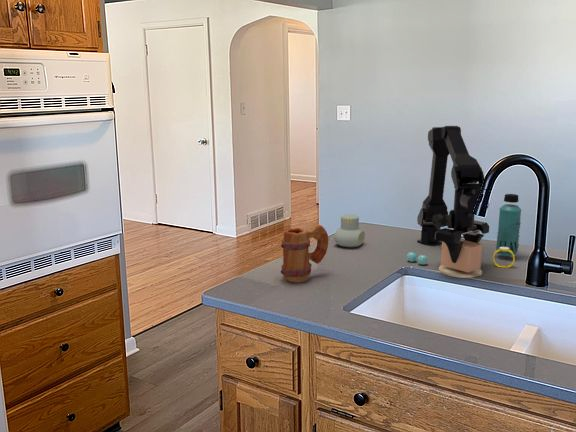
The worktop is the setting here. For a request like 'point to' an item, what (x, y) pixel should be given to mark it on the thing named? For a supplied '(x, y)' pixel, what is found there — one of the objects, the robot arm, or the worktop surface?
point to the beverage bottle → (509, 226)
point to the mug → (302, 252)
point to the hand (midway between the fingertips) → (460, 260)
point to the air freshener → (349, 232)
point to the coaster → (459, 272)
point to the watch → (503, 250)
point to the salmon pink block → (463, 257)
